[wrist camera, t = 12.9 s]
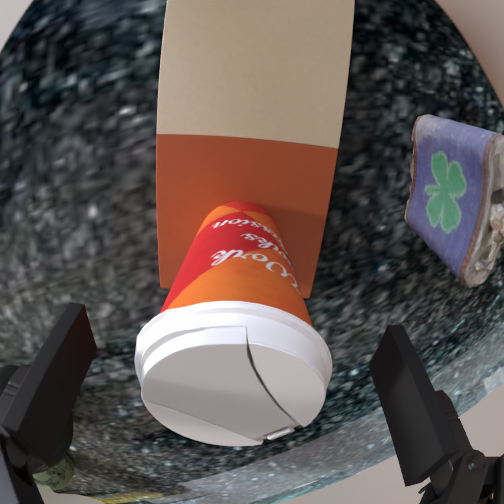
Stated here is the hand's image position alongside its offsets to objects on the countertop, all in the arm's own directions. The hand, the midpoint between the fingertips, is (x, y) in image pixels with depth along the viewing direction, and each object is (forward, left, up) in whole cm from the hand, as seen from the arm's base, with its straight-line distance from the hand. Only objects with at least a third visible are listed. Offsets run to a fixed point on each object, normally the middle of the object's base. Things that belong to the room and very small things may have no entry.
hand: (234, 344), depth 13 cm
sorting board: (-7, 0, -12) cm, 13 cm away
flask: (-6, +13, -12) cm, 19 cm away
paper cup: (0, 0, -11) cm, 11 cm away
